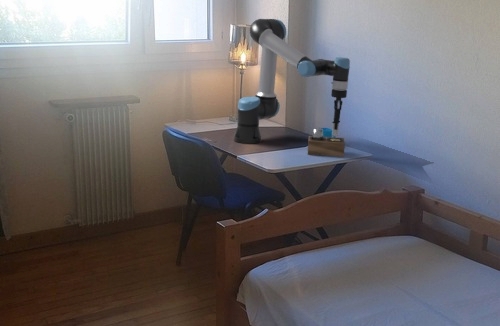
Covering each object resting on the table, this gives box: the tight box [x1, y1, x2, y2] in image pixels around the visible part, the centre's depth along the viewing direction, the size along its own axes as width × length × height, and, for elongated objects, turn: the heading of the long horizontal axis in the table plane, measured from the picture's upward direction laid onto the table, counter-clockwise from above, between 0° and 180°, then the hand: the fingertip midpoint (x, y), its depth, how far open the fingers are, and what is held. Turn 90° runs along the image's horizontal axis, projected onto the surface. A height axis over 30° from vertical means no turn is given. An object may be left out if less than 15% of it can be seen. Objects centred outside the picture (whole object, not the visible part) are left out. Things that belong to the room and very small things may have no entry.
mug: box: [319, 127, 337, 138], centre depth 309 cm, size 12×8×8 cm
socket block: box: [307, 135, 346, 158], centre depth 290 cm, size 12×18×7 cm, turn 84°
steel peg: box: [312, 127, 323, 140], centre depth 290 cm, size 5×5×7 cm
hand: (334, 135), depth 289 cm, fingers closed
